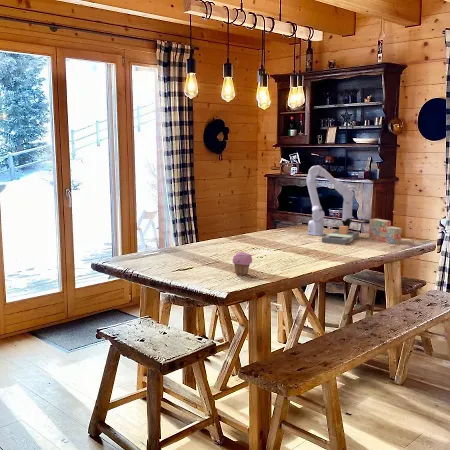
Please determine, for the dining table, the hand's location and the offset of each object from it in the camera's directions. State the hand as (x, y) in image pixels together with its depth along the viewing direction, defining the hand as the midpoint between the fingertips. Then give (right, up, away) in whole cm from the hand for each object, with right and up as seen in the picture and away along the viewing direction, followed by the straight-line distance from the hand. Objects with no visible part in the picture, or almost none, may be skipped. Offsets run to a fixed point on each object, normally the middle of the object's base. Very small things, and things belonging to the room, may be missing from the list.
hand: (346, 230), depth 338 cm
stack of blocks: (+21, -6, -10) cm, 24 cm away
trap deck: (-5, -5, -9) cm, 11 cm away
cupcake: (-69, -19, -98) cm, 121 cm away
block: (-3, -2, -5) cm, 6 cm away
